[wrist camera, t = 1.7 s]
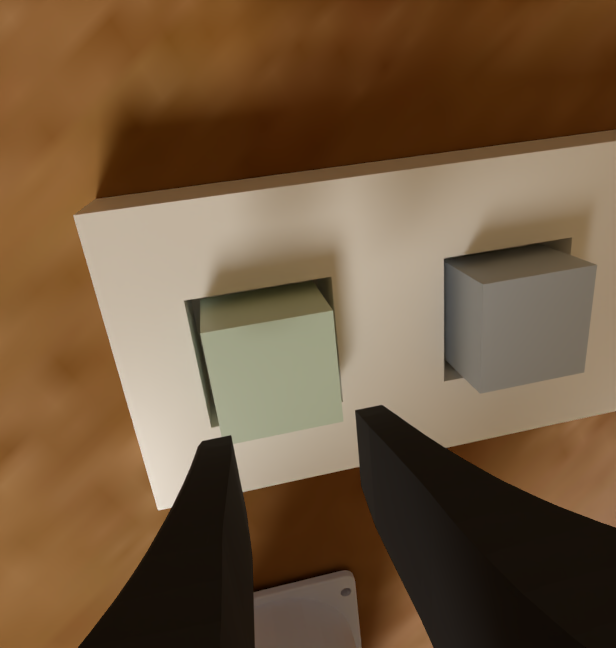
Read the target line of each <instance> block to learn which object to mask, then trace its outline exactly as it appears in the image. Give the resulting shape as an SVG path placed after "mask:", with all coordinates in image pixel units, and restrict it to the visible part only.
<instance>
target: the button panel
mask: <svg viewBox="0 0 616 648" xmlns="http://www.w3.org/2000/svg"><path fill="white" fill-rule="evenodd" d="M73 216H74V220H75V223H76V227H77V230H78V233H79V237H80V240H81V244H82V247H83V251H84V254H85V258H86V261H87V265H88V268H89V272H90V275H91V279H92V282H93V286H94V289H95V293H96V296H97V300H98V303H99V307H100V310H101V314H102V317H103V321H104V324H105V327H106V331H107V334H108V338H109V341H110V345H111V348H112V352H113V355H114V359H115V362H116V366H117V369H118V373H119V376H120V380H121V383H122V387H123V390H124V394H125V397H126V401H127V404H128V408H129V411H130V414H131V418H132V421H133V425H134V428H135V432H136V435H137V439H138V442H139V446H140V449H141V453H142V456H143V460H144V463H145V467H146V470H147V474H148V477H149V481H150V484H151V488H152V491H153V495H154V498H155V502H156V505H157V508H158V510H163V509H167V508H172V506H173V504H174V502H175V500H176V497H177V495H178V493H179V491H180V489H181V487H182V485H183V483H184V481H185V478H186V476H187V474H188V471H189V469H190V467H191V464H192V461H193V459H194V456H195V453H196V450H197V447H198V446H199V444H200V443H201V442H202V441H204V440H209V439H214V438H219V437H222V436H221V431H220V427H219V422H218V417H217V412H216V407H215V403H214V398H213V393H212V388H211V383H210V379H209V374H208V369H207V364H206V359H205V355H204V350H203V345H202V340H201V335H200V299H204V298H210V297H216V296H223V295H229V294H235V293H241V292H247V291H253V290H259V289H265V288H271V287H278V286H284V285H290V284H296V283H302V282H308V281H313V282H314V284H315V285H316V287H317V288H318V289H319V291H320V292H321V294H322V295H323V297H324V298H325V300H326V301H327V303H328V304H329V305H330V307H331V308H332V310H333V316H334V327H335V337H336V348H337V359H338V369H339V380H340V390H341V401H342V412H343V422H339V423H334V424H329V425H324V426H319V427H314V428H309V429H304V430H299V431H295V432H290V433H285V434H280V435H275V436H270V437H265V438H260V439H255V440H250V441H246V442H241V443H236V444H233V446H234V451H235V457H236V462H237V467H238V472H239V477H240V482H241V487H242V492H245V491H250V490H255V489H259V488H264V487H268V486H273V485H278V484H282V483H287V482H291V481H296V480H301V479H305V478H310V477H314V476H319V475H324V474H328V473H333V472H337V471H342V470H347V469H351V468H356V467H360V465H359V453H358V441H357V429H356V417H355V410H358V409H363V408H368V407H373V406H378V405H383V406H385V407H386V408H388V409H389V410H390V411H392V412H393V413H395V414H396V415H398V416H399V417H400V418H402V419H403V420H405V421H406V422H407V423H409V424H410V425H412V426H413V427H415V428H416V429H418V430H419V431H420V432H422V433H423V434H425V435H426V436H428V437H429V438H431V439H432V440H434V441H435V442H437V443H438V444H440V445H442V446H443V447H445V448H448V447H452V446H457V445H462V444H466V443H471V442H475V441H480V440H485V439H489V438H494V437H498V436H503V435H508V434H512V433H517V432H521V431H526V430H531V429H535V428H540V427H544V426H549V425H554V424H558V423H563V422H567V421H572V420H577V419H581V418H586V417H590V416H595V415H600V414H604V413H609V412H613V411H616V130H609V131H601V132H594V133H586V134H579V135H571V136H564V137H556V138H549V139H541V140H534V141H526V142H519V143H511V144H504V145H496V146H489V147H481V148H474V149H466V150H459V151H451V152H444V153H436V154H429V155H421V156H414V157H406V158H399V159H391V160H384V161H376V162H369V163H361V164H354V165H346V166H339V167H331V168H324V169H316V170H309V171H301V172H294V173H286V174H279V175H271V176H264V177H257V178H249V179H242V180H234V181H227V182H219V183H212V184H204V185H197V186H189V187H182V188H174V189H167V190H159V191H152V192H144V193H137V194H129V195H122V196H114V197H107V198H99V199H95V200H93V201H92V202H91V203H89V204H88V205H87V206H85V207H84V208H82V209H81V210H80V211H78V212H77V213H76V214H74V215H73ZM534 244H542V245H545V246H547V247H550V248H553V249H555V250H558V251H561V252H564V253H566V254H569V255H572V256H575V257H577V258H580V259H583V260H585V261H588V262H591V263H594V264H596V265H597V270H596V279H595V287H594V295H593V303H592V312H591V320H590V328H589V336H588V345H587V353H586V361H585V370H584V373H579V374H574V375H569V376H564V377H559V378H554V379H549V380H545V381H540V382H535V383H530V384H525V385H520V386H515V387H510V388H505V389H500V390H496V391H491V392H486V393H481V394H480V393H479V392H478V391H477V390H476V389H475V388H474V387H473V386H472V385H471V384H470V383H469V382H468V381H467V380H466V379H464V378H463V377H462V376H461V375H460V374H459V373H458V372H457V371H456V370H455V369H454V368H453V367H452V366H451V365H450V364H449V363H448V362H447V361H446V360H445V359H444V259H448V258H455V257H461V256H467V255H473V254H479V253H485V252H491V251H497V250H503V249H510V248H516V247H522V246H528V245H534Z"/></svg>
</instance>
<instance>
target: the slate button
mask: <svg viewBox="0 0 616 648" xmlns="http://www.w3.org/2000/svg"><path fill="white" fill-rule="evenodd" d="M596 270H597V265H596V264H594V263H591V262H588V261H585V260H583V259H580V258H577V257H575V256H572V255H569V254H566V253H564V252H561V251H558V250H555V249H553V248H550V247H547V246H545V245H542V244H534V245H528V246H522V247H516V248H510V249H503V250H497V251H491V252H485V253H479V254H473V255H467V256H461V257H455V258H448V259H444V359H445V360H446V361H447V362H448V363H449V364H450V365H451V366H452V367H453V368H454V369H455V370H456V371H457V372H458V373H459V374H460V375H461V376H462V377H463V378H464V379H466V380H467V381H468V382H469V383H470V384H471V385H472V386H473V387H474V388H475V389H476V390H477V391H478V392H479V393H480V394H481V393H486V392H491V391H496V390H500V389H505V388H510V387H515V386H520V385H525V384H530V383H535V382H540V381H545V380H549V379H554V378H559V377H564V376H569V375H574V374H579V373H584V370H585V361H586V353H587V345H588V336H589V328H590V320H591V312H592V303H593V295H594V287H595V279H596Z"/></svg>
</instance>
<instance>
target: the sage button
mask: <svg viewBox="0 0 616 648" xmlns="http://www.w3.org/2000/svg"><path fill="white" fill-rule="evenodd" d="M200 335H201V340H202V345H203V350H204V355H205V359H206V364H207V369H208V374H209V379H210V383H211V388H212V393H213V398H214V403H215V407H216V412H217V417H218V422H219V427H220V431H221V436H222V437H224V436H229V435H231V436H232V441H233V444H236V443H241V442H246V441H250V440H255V439H260V438H265V437H270V436H275V435H280V434H285V433H290V432H295V431H299V430H304V429H309V428H314V427H319V426H324V425H329V424H334V423H339V422H343V412H342V401H341V390H340V380H339V369H338V359H337V348H336V337H335V327H334V316H333V310H332V308H331V307H330V305H329V304H328V303H327V301H326V300H325V298H324V297H323V295H322V294H321V292H320V291H319V289H318V288H317V287H316V285H315V284H314V282H313V281H308V282H302V283H296V284H290V285H284V286H278V287H271V288H265V289H259V290H253V291H247V292H241V293H235V294H229V295H223V296H216V297H210V298H204V299H200Z"/></svg>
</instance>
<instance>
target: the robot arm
mask: <svg viewBox="0 0 616 648" xmlns="http://www.w3.org/2000/svg"><path fill="white" fill-rule="evenodd" d="M355 417H356V429H357V441H358V453H359V465H360V477H361V486H362V489H363V492H364V495H365V498H366V501H367V504H368V507H369V510H370V513H371V515H372V518H373V521H374V524H375V527H376V529H377V531H378V533H379V535H380V537H381V539H382V541H383V543H384V545H385V547H386V549H387V552H388V554H389V556H390V558H391V560H392V562H393V564H394V566H395V568H396V570H397V572H398V574H399V576H400V578H401V580H402V582H403V584H404V586H405V588H406V590H407V592H408V594H409V596H410V598H411V600H412V602H413V604H414V606H415V608H416V610H417V612H418V614H419V616H420V618H421V620H422V623H423V625H424V627H425V629H426V632H427V634H428V636H429V638H430V641H431V643H432V645H433V647H434V648H616V528H615V527H612V526H609V525H606V524H604V523H601V522H598V521H595V520H593V519H590V518H587V517H585V516H582V515H580V514H577V513H574V512H572V511H569V510H567V509H564V508H561V507H559V506H557V505H554V504H552V503H550V502H547V501H545V500H542V499H540V498H538V497H536V496H534V495H532V494H529V493H527V492H525V491H523V490H521V489H519V488H517V487H515V486H512V485H510V484H508V483H506V482H504V481H502V480H500V479H498V478H496V477H495V476H493V475H491V474H489V473H487V472H485V471H484V470H482V469H480V468H478V467H477V466H475V465H473V464H471V463H469V462H468V461H466V460H464V459H463V458H461V457H459V456H458V455H456V454H454V453H453V452H451V451H449V450H448V449H446V448H445V447H443V446H442V445H440V444H438V443H437V442H435V441H434V440H432V439H431V438H429V437H428V436H426V435H425V434H423V433H422V432H420V431H419V430H418V429H416V428H415V427H413V426H412V425H410V424H409V423H407V422H406V421H405V420H403V419H402V418H400V417H399V416H398V415H396V414H395V413H393V412H392V411H390V410H389V409H388V408H386V407H385V406H383V405H378V406H373V407H368V408H363V409H358V410H355ZM345 588H346V589H345ZM78 648H362V646H361V636H360V625H359V615H358V605H357V595H356V584H355V579H354V576H353V573H352V572H350V571H347V570H343V571H338V572H334V573H330V574H326V575H322V576H318V577H314V578H310V579H306V580H302V581H298V582H294V583H289V584H285V585H281V586H277V587H273V588H269V589H265V590H261V591H257V592H253V560H252V549H251V542H250V534H249V527H248V519H247V512H246V507H245V502H244V497H243V492H242V487H241V482H240V477H239V472H238V467H237V462H236V457H235V451H234V446H233V441H232V436H231V435H229V436H224V437H219V438H214V439H209V440H204V441H202V442H201V443H200V444H199V446H198V447H197V450H196V453H195V456H194V459H193V461H192V464H191V467H190V469H189V471H188V474H187V476H186V478H185V481H184V483H183V485H182V487H181V489H180V491H179V493H178V495H177V497H176V500H175V502H174V504H173V506H172V508H171V510H170V512H169V514H168V516H167V517H166V519H165V521H164V523H163V525H162V526H161V528H160V530H159V532H158V533H157V535H156V537H155V539H154V540H153V542H152V544H151V546H150V547H149V549H148V551H147V552H146V554H145V556H144V557H143V559H142V560H141V562H140V564H139V565H138V567H137V568H136V570H135V571H134V573H133V574H132V576H131V577H130V579H129V580H128V582H127V583H126V585H125V586H124V588H123V589H122V590H121V592H120V593H119V595H118V596H117V598H116V599H115V600H114V602H113V603H112V604H111V606H110V607H109V608H108V610H107V611H106V612H105V614H104V615H103V616H102V617H101V619H100V620H99V621H98V623H97V624H96V625H95V627H94V628H93V629H92V631H91V632H90V633H89V634H88V636H87V637H86V638H85V639H84V641H83V642H82V643H81V644H80V646H79V647H78Z"/></svg>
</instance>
